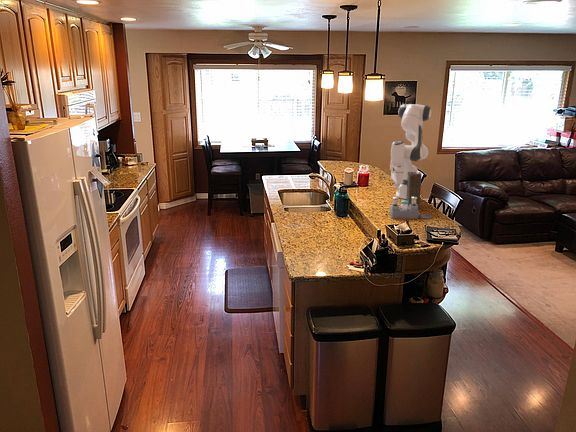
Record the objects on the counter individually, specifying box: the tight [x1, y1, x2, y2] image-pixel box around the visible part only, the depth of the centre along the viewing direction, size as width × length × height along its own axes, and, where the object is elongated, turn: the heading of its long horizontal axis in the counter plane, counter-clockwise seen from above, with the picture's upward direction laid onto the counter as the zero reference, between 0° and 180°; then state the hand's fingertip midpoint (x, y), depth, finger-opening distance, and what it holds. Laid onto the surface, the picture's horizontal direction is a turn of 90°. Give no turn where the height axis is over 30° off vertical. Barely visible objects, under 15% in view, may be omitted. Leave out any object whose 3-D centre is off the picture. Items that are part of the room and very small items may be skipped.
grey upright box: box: [405, 171, 423, 210], centre depth 319 cm, size 19×8×25 cm, turn 170°
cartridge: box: [400, 199, 408, 210], centre depth 299 cm, size 5×5×10 cm
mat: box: [418, 214, 434, 220], centre depth 298 cm, size 8×8×1 cm
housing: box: [388, 203, 420, 220], centre depth 300 cm, size 10×17×8 cm, turn 88°
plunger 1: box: [392, 196, 399, 206], centre depth 298 cm, size 4×4×6 cm
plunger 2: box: [411, 196, 417, 206], centre depth 298 cm, size 4×4×6 cm
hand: (396, 188), depth 295 cm, fingers closed
